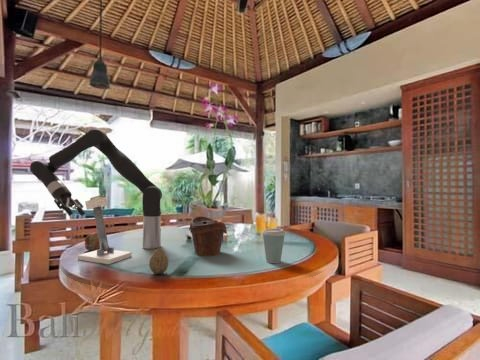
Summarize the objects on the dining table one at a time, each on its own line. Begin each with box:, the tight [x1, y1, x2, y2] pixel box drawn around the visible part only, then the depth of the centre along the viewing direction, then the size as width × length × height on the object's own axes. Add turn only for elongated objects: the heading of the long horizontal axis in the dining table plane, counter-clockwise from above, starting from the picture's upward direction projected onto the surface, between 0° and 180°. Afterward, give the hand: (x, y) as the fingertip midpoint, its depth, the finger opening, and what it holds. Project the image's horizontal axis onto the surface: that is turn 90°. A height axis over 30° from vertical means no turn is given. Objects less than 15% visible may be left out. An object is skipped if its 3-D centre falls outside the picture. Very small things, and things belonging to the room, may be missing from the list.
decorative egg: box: [149, 247, 169, 275], centre depth 110 cm, size 7×7×10 cm
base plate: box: [77, 246, 132, 265], centre depth 131 cm, size 18×14×4 cm
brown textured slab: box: [84, 231, 100, 251], centre depth 148 cm, size 15×3×8 cm, turn 179°
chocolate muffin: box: [188, 216, 228, 257], centre depth 144 cm, size 18×20×18 cm
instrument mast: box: [84, 194, 110, 252], centre depth 132 cm, size 8×5×26 cm, turn 70°
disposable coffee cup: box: [261, 227, 286, 264], centre depth 130 cm, size 11×11×15 cm
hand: (77, 214), depth 139 cm, fingers open, 8 cm apart
